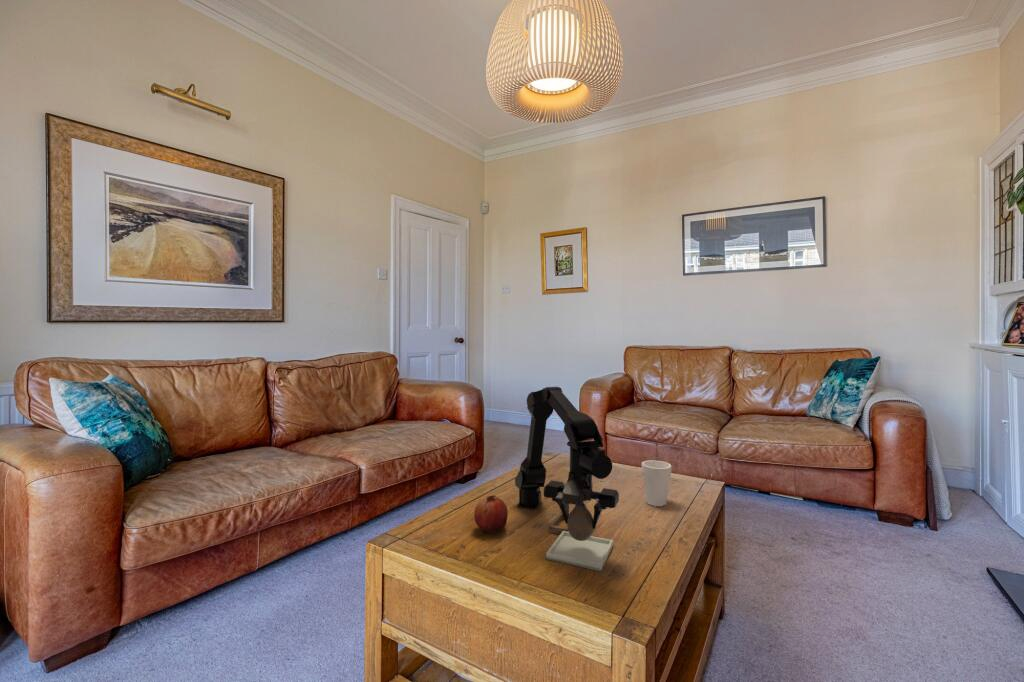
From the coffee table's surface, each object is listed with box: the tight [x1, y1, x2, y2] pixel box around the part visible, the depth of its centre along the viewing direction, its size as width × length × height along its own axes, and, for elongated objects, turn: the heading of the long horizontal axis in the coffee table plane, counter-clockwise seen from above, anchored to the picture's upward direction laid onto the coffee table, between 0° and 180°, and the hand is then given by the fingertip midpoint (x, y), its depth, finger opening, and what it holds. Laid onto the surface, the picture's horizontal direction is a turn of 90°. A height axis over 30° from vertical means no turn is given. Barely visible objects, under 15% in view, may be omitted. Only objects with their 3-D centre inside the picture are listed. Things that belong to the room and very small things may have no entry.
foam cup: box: [641, 459, 672, 507], centre depth 151 cm, size 10×9×13 cm
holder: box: [548, 511, 569, 536], centre depth 132 cm, size 11×11×2 cm
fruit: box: [473, 495, 509, 533], centre depth 130 cm, size 11×10×10 cm
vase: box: [566, 502, 595, 541], centre depth 117 cm, size 7×7×9 cm
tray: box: [545, 531, 614, 572], centre depth 117 cm, size 14×14×2 cm
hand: (580, 526), depth 117 cm, fingers closed on vase, 7 cm apart
